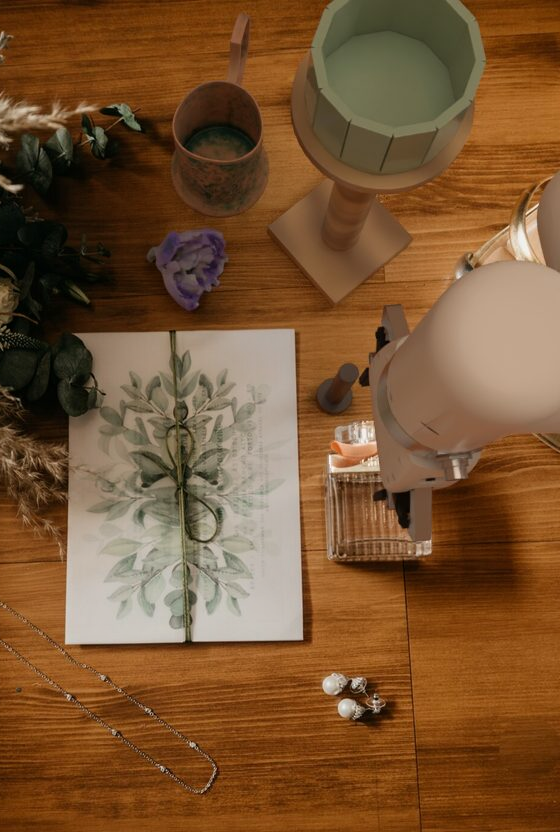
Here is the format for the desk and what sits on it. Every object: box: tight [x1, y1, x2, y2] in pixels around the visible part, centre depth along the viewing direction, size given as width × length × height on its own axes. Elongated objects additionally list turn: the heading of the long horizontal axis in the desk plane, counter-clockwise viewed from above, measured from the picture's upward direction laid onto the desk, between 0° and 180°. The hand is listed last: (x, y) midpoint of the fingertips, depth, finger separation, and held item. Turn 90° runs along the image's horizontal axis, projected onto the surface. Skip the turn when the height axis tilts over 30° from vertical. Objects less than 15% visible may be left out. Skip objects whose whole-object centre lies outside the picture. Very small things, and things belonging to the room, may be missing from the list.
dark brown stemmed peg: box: [315, 362, 360, 416], centre depth 77 cm, size 4×4×12 cm
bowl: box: [304, 0, 487, 175], centre depth 56 cm, size 13×13×6 cm
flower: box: [146, 227, 229, 312], centre depth 80 cm, size 9×9×10 cm
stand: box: [266, 48, 476, 308], centre depth 71 cm, size 15×15×26 cm
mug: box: [170, 12, 270, 218], centre depth 79 cm, size 12×18×12 cm, turn 166°
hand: (384, 438), depth 60 cm, fingers open, 9 cm apart
